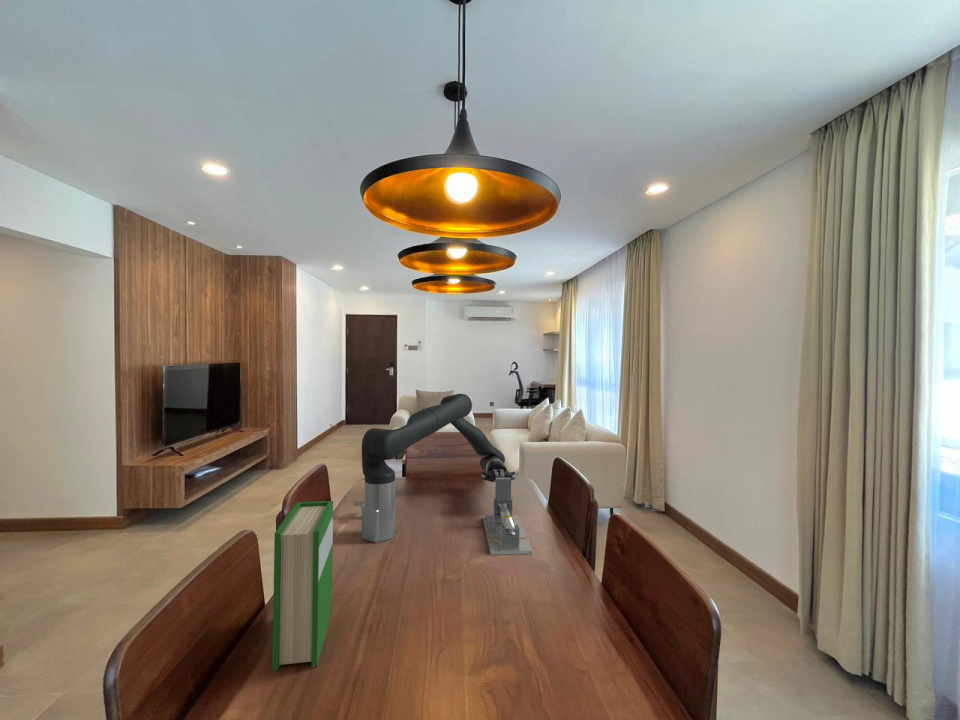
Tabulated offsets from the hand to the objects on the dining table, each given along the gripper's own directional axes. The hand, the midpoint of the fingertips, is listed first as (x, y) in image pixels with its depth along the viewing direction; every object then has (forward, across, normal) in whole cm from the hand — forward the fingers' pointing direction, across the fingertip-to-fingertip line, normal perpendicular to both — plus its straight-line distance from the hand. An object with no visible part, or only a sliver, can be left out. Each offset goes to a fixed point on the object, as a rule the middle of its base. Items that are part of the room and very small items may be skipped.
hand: (501, 481), depth 155 cm
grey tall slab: (+5, 0, +10) cm, 12 cm away
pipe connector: (-4, -46, +14) cm, 48 cm away
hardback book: (+65, -45, +14) cm, 80 cm away
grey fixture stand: (+12, 0, +14) cm, 18 cm away
